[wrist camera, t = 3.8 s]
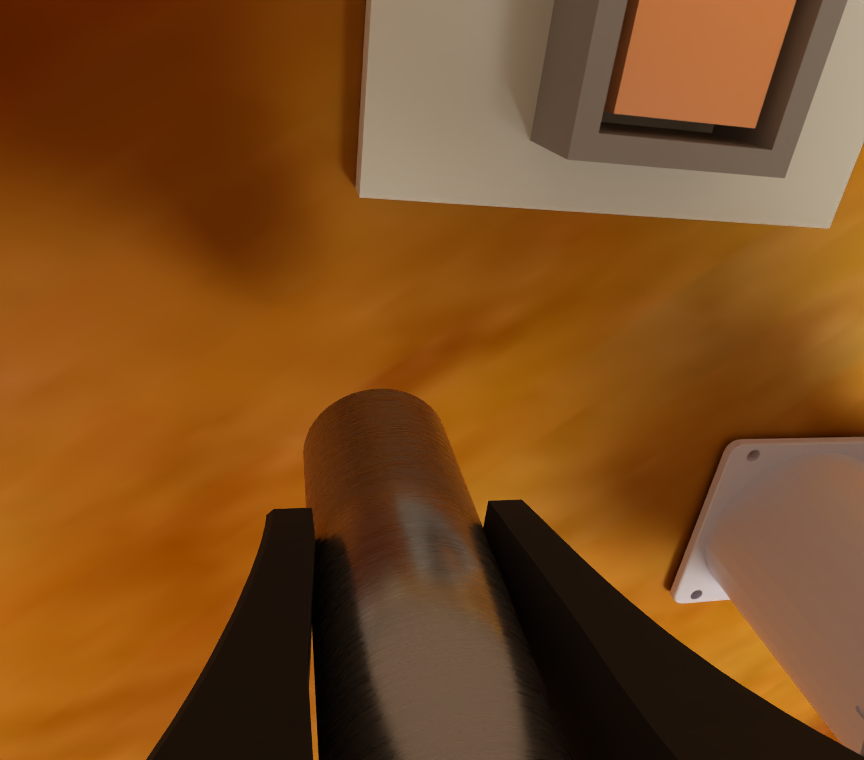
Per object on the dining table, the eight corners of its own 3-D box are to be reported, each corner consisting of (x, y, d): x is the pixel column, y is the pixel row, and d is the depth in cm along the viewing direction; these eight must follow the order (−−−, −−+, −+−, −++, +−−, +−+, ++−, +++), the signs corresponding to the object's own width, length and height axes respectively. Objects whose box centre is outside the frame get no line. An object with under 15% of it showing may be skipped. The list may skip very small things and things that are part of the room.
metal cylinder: (454, 388, 13) (686, 892, 6) (437, 504, 15) (606, 1035, 7) (304, 388, 13) (341, 958, 5) (302, 510, 14) (326, 1102, 6)
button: (776, -51, 15) (814, -56, 14) (725, 120, 16) (755, 128, 15) (630, -77, 14) (658, -84, 13) (591, 106, 16) (614, 113, 15)
